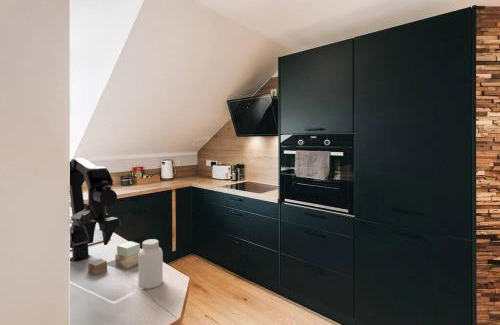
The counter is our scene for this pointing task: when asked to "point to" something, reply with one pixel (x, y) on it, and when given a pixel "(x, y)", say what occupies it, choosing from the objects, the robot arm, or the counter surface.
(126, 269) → the slate board
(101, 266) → the walnut block
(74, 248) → the robot arm
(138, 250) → the tower mid
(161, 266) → the pill bottle
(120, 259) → the tower base
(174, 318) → the counter surface
